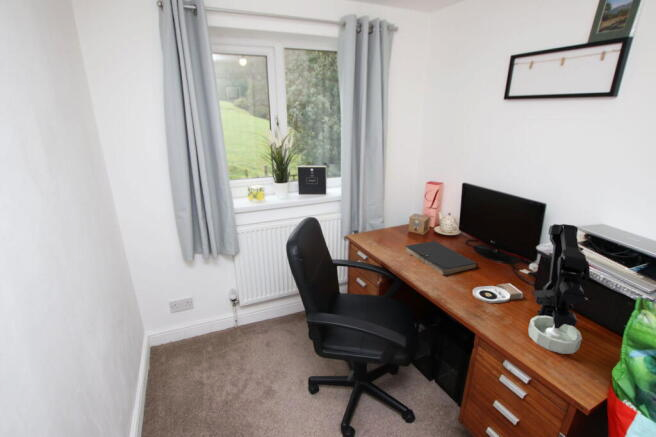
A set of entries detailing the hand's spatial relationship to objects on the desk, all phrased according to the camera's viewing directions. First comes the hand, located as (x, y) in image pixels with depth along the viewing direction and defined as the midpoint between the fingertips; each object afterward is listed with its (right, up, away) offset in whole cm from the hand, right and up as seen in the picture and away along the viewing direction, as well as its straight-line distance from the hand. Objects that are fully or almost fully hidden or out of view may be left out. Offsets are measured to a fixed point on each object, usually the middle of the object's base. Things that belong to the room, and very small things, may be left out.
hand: (555, 326), depth 113 cm
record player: (-6, +4, +30) cm, 31 cm away
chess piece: (0, -3, +1) cm, 3 cm away
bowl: (0, -5, +2) cm, 5 cm away
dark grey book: (-19, +15, +66) cm, 70 cm away
